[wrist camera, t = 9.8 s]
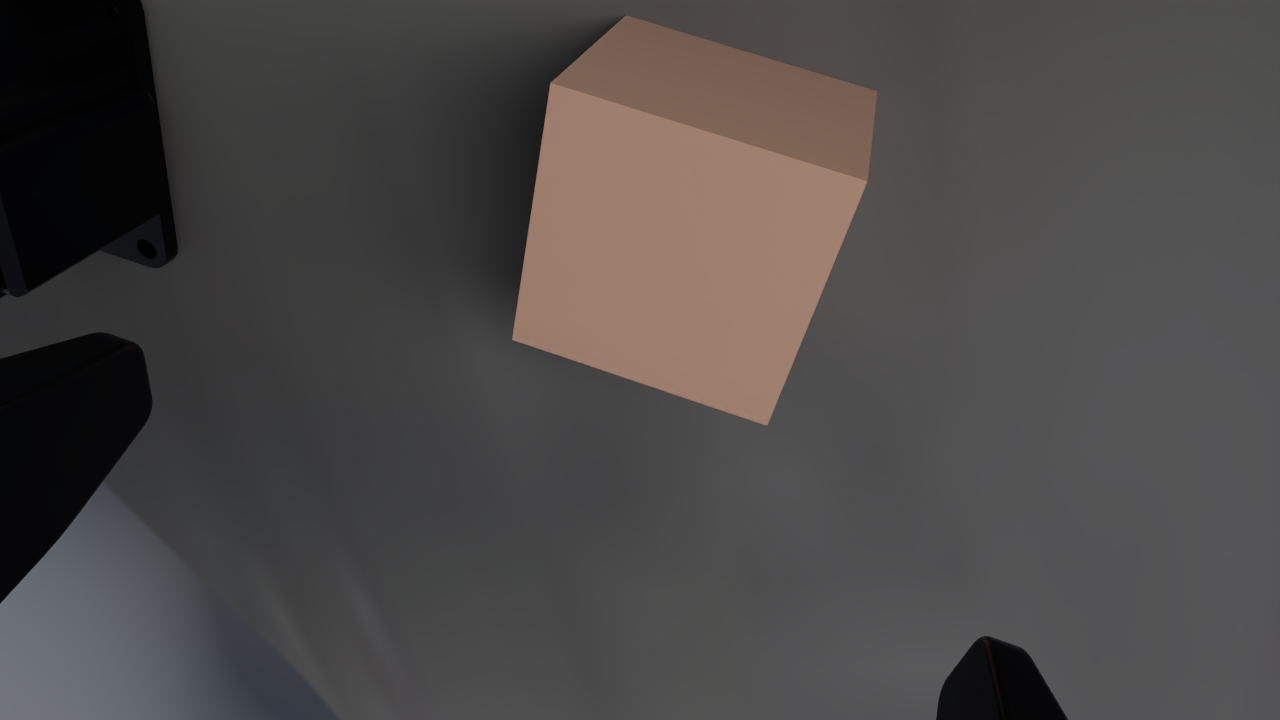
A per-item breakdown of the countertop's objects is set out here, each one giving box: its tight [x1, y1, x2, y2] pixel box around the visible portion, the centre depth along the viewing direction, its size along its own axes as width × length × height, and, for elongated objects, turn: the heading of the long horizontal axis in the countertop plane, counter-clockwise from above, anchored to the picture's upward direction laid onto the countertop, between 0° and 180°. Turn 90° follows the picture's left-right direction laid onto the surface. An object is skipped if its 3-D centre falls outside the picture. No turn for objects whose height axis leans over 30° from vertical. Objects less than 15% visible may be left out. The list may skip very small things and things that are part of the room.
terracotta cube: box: [512, 16, 877, 426], centre depth 15 cm, size 4×4×4 cm
